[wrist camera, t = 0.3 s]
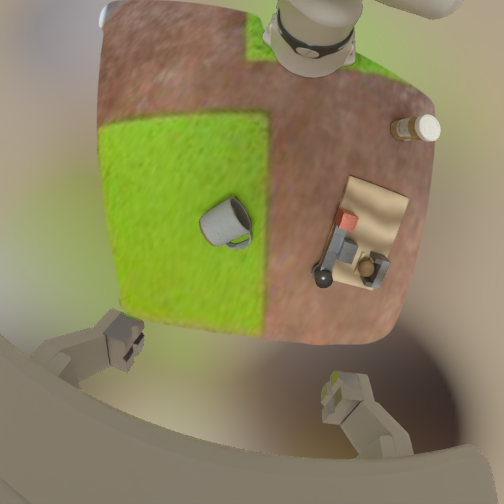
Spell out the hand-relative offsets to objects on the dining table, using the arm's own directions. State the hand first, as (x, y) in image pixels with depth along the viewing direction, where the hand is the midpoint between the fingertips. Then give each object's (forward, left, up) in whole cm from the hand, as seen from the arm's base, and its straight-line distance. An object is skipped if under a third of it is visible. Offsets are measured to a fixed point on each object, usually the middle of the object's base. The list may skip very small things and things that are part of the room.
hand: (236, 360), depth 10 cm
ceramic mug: (+9, -6, -46) cm, 47 cm away
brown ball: (+10, +23, -44) cm, 50 cm away
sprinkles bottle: (-20, +22, -46) cm, 55 cm away
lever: (+8, +16, -44) cm, 47 cm away
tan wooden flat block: (+4, +21, -46) cm, 50 cm away
